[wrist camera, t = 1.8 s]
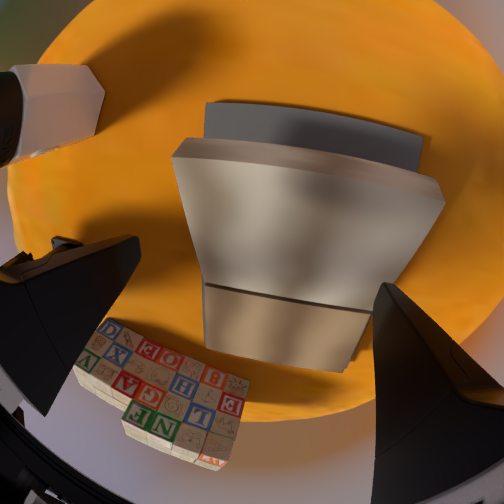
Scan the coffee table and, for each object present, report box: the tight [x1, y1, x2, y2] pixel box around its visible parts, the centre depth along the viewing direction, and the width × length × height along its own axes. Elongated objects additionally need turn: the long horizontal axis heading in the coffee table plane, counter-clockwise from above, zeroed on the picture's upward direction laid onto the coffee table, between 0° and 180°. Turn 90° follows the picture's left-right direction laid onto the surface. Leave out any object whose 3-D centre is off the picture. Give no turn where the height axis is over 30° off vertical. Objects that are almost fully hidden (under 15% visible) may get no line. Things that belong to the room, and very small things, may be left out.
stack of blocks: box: [73, 318, 250, 471], centre depth 29 cm, size 21×6×12 cm, turn 72°
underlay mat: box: [202, 103, 423, 369], centre depth 22 cm, size 16×24×1 cm, turn 175°
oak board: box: [205, 282, 370, 373], centre depth 24 cm, size 14×8×2 cm, turn 85°
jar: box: [0, 64, 105, 169], centre depth 15 cm, size 9×8×12 cm
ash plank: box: [171, 138, 446, 311], centre depth 17 cm, size 14×12×2 cm
